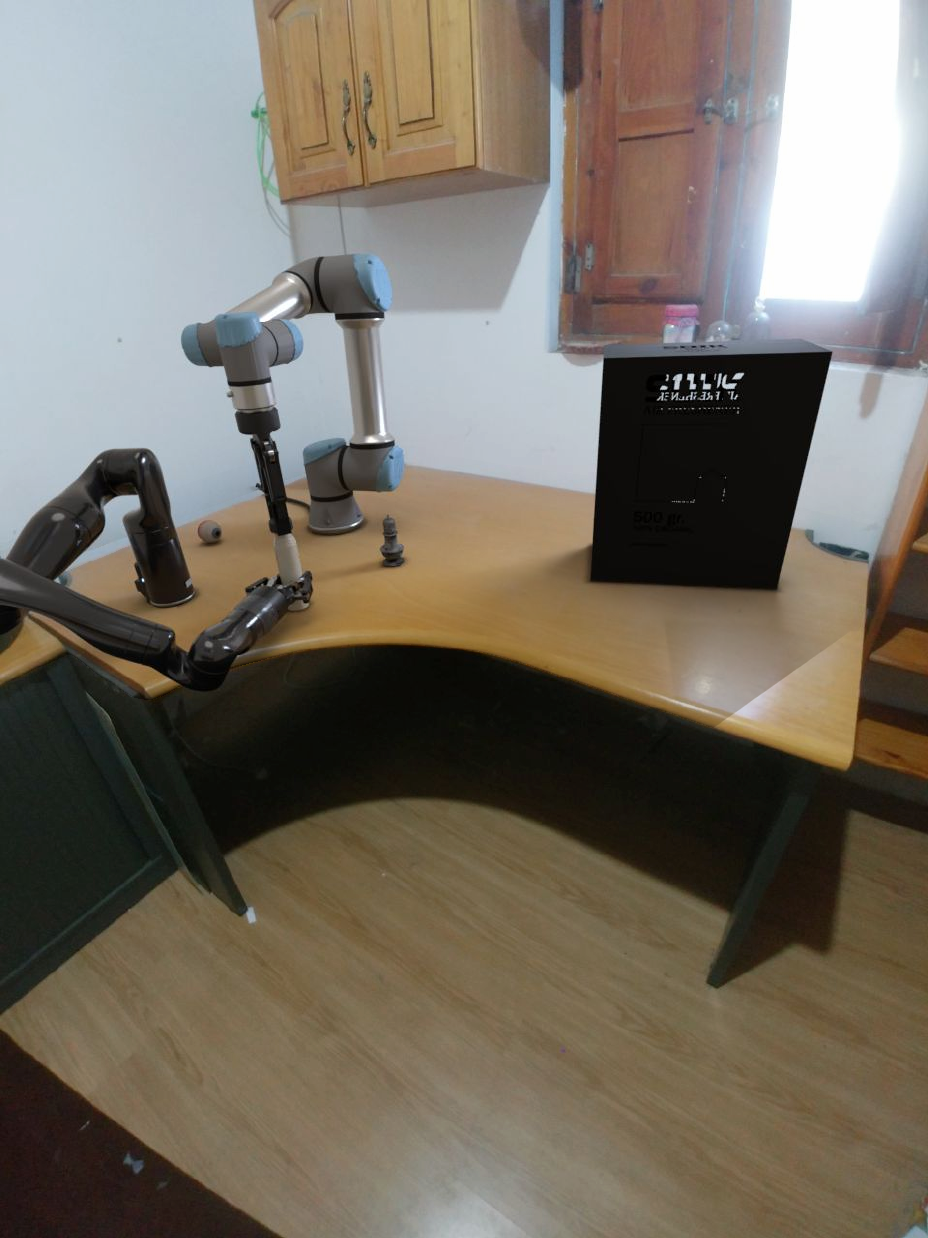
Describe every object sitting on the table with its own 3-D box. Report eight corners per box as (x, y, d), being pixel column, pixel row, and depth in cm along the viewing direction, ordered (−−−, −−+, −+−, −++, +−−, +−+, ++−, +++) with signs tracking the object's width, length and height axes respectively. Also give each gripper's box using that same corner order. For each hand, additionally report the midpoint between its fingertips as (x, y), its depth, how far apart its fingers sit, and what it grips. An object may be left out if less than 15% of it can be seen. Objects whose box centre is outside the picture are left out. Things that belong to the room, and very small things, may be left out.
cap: (296, 529, 120) (294, 519, 119) (275, 535, 117) (272, 525, 116) (288, 523, 123) (285, 514, 122) (266, 529, 121) (264, 519, 120)
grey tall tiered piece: (401, 567, 143) (396, 519, 137) (378, 566, 144) (371, 518, 138) (408, 556, 148) (403, 510, 142) (385, 556, 149) (379, 509, 143)
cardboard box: (756, 549, 141) (800, 338, 118) (776, 589, 124) (832, 351, 101) (592, 544, 148) (604, 344, 126) (590, 580, 131) (603, 357, 109)
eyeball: (211, 547, 159) (205, 526, 156) (196, 543, 162) (190, 522, 159) (229, 539, 163) (224, 518, 160) (214, 536, 166) (209, 515, 164)
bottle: (302, 611, 126) (284, 529, 117) (283, 610, 127) (264, 527, 118) (312, 601, 130) (296, 520, 121) (293, 599, 131) (276, 519, 122)
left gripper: (229, 627, 117) (271, 587, 131) (296, 632, 114) (332, 591, 128) (219, 593, 113) (264, 556, 128) (289, 598, 110) (326, 559, 125)
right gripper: (226, 404, 114) (254, 520, 126) (242, 419, 100) (272, 548, 112) (266, 398, 117) (289, 513, 128) (287, 413, 103) (312, 540, 115)
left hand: (298, 574), depth 128 cm, fingers closed on bottle, 4 cm apart
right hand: (281, 529), depth 120 cm, fingers open, 5 cm apart
